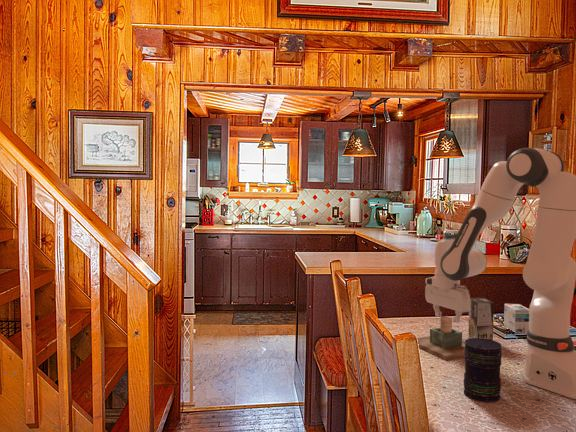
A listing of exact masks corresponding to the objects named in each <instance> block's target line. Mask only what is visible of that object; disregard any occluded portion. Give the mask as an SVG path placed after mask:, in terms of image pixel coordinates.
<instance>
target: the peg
mask: <svg viewBox="0 0 576 432" xmlns="http://www.w3.org/2000/svg"><path fill="white" fill-rule="evenodd" d="M439 328H440V332H442V333H445V334H446V333H452V329H453V317H452V316H449V315H442V316H441V317H440V327H439Z"/></svg>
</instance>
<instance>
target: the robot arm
mask: <svg viewBox="0 0 576 432" xmlns="http://www.w3.org/2000/svg"><path fill="white" fill-rule="evenodd" d="M524 185H526V186H529V187H532V188H535V187H536V188H537V189H538V193H539V197H538V198H539V199H538V205H537V206H538V208H537V214H536V223H535V230H534V234H533V237H532V242H531V245H530V248H529V251H528V256H527V258H526V259H527V260H526V263H525V265H524V267H523V269H522V278H523V281H524V283H525V285H527V286H528V287H529V288H530V289H531V290H533V294H532V299H531V302H530V303H529V309H530V311H529V330H528V331H527V336H526V343H527V351H526V357H525V362H524V366H523V368H522V369H523V370H522V372H521V375H522V377H523V382H524V384H525V383H526V384H529V385H531V386H535V387H538V388H541V389H543V390H546V391H548V392H552V393H555V394H558V395H561V396H563V397H567V398H569V399H572V400H576V347H575V346H576V341H573V339H572V336H571V335H570V333H571V331H570V330H571V311H572V303H573V298H574V293H575V287H576V286H575V285H576V261H575V259H574V258H573V257H572V256H571V253H572V249H573V248H574V244H575V242H576V241H575V240H576V174H573V173H572V172H569V171H568V172H567V171H565V162H564V160H563V158H562V157H561V156H560V155H559V154H558V153H555V152H554V151H549V150H546V149H544V148H536V147H533V148H532V147H522V148H518V149H517V150H514V151H513V152H512V153H511V154H509V156H508V157H507V160H501V161H497V162H495V163H494V164H493V165H492V166H491V169H490V170H489V171H488V173H487V175H486V177H485V179H484V181H483V183H482V185H481V188H480V190H479V192H478V194H477V197H476V199H475V201H474V202H473V205H472V206H471V208H470V210H469V211H468V214H467V215H466V217H465V218H464V220H463V222H462V224H461V226H460V227H459V230H458V232H457V234H456V236H455V237H451V238H450V237H449V238H443V239H439V240H438V241H437V242H436V244H435V249H434V264H435V270H434V276H431V277H426V278H425V281H424V282H425V284H426V285H425V289H424V290H425V291H424V294H425V295H424V297H425V300H426V302H427V303H429V304H432V308H433V311H434V313H435V314H434V315H435V317H438V318H441V316H443V315H442V313H443V312H442V311H441V310H440V307H442V308H446V309H450V310H453V311H454V313H455V316H453V317H452V323H456V324H457V323H458V324H459V323H461V317H462V314H463V313H469V311H470V310H471V302H470V298H471V296H470V295H471V294H470V290H469V289H468V287H467V286H465V285H464V284H463V285H461V280H464V279H465V278H466V279H467V278H470V277H471V278H472V277H474V276H478V275H480V274H482V273H484V271H485V270H486V269H487V264H488V263H487V262H488V260H487V257H486V255H485V253H484V252H483V251H482V250H480V249H477V248H474V246H475V244H476V242H477V240H478V238H479V236H480V235H481V233H482V232H483V231H484V230H485V229H486V228H487V227H489V226H491V225H492V224H494V223H496V222H498V221H500V220H502V219H504V218H505V217H506V215H507V214H508V213H509V211H510V210H511V208H512V206H513V204H514V203H515V202H514V201H515V200H516V197H517V194H518V192H519V190H520V189H521V187H522V186H524Z"/></svg>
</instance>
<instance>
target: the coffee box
mask: <svg viewBox="0 0 576 432" xmlns="http://www.w3.org/2000/svg"><path fill="white" fill-rule="evenodd" d="M470 302H471V310H470V311H469V312H468V339H471V338H482V339H489V340H493V339H494V311H495V310H494V307H495V306H494V305H495V303H494V302H493V301H491V300H489V299H487V298H486V297H470ZM493 341H494V340H493Z"/></svg>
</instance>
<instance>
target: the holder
mask: <svg viewBox="0 0 576 432" xmlns="http://www.w3.org/2000/svg"><path fill="white" fill-rule="evenodd" d="M416 338H417V339H418V344H419V349H421V350H422V349H423V350H422V351H425V352H427V353H429V354H431V355H433V354H434V355H433V356H435V355H436V357H437V356H438V358H440V359H442V360H444V361H448V360H454V359H459V358H460V359H461V358H464V357H465V355H464V350H465V340H463V332H462V331H459V330H457V329H455V328H452V333H446V334H445V333H442V332H440V327H436V328H435V327H434V328H430V329H429V336H422V337H420V336H419V337H416Z"/></svg>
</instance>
